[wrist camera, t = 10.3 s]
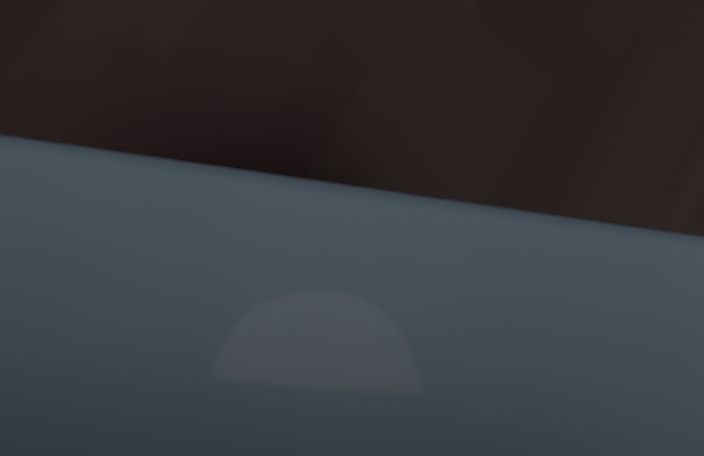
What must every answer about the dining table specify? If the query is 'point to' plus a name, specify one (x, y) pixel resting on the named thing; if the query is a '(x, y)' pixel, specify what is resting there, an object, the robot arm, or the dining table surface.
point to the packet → (329, 318)
